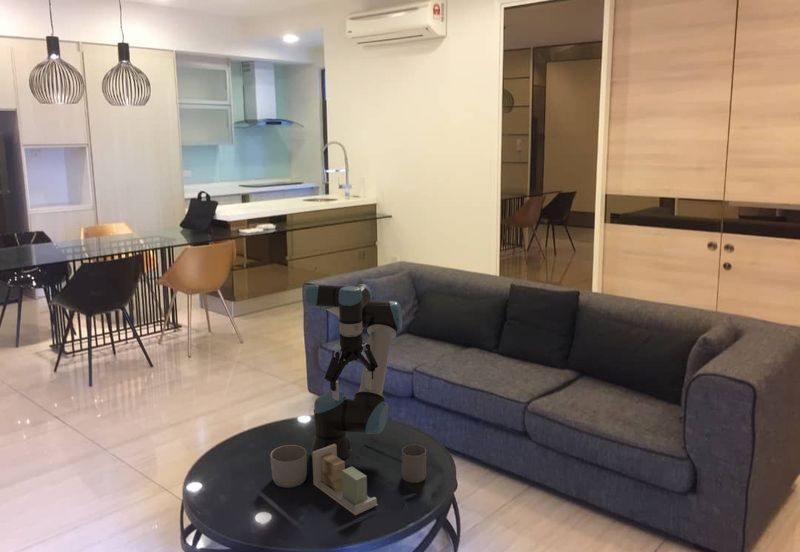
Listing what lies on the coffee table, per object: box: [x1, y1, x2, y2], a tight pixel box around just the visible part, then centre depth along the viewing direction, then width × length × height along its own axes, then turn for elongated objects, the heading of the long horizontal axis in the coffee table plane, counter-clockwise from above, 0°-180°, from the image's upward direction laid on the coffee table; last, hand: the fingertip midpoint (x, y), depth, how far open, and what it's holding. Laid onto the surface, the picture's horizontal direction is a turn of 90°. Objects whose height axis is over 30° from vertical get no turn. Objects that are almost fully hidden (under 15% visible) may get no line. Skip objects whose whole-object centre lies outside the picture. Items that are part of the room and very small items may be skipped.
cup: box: [401, 444, 427, 484], centre depth 228 cm, size 8×8×10 cm
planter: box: [269, 444, 308, 489], centre depth 225 cm, size 12×12×11 cm
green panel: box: [342, 466, 368, 506], centre depth 211 cm, size 8×4×10 cm, turn 40°
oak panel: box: [321, 453, 346, 493], centre depth 220 cm, size 8×4×10 cm, turn 40°
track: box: [312, 444, 379, 516], centre depth 215 cm, size 24×9×13 cm, turn 40°
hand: (352, 393), depth 221 cm, fingers open, 13 cm apart
